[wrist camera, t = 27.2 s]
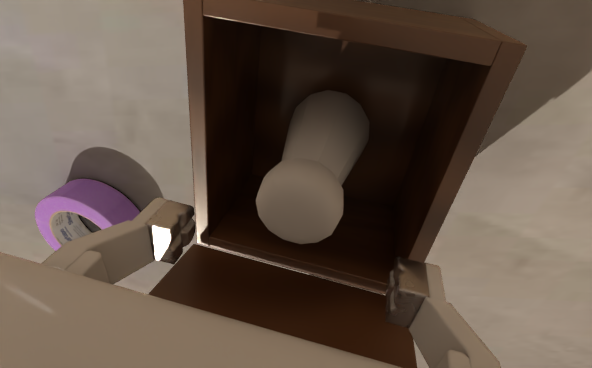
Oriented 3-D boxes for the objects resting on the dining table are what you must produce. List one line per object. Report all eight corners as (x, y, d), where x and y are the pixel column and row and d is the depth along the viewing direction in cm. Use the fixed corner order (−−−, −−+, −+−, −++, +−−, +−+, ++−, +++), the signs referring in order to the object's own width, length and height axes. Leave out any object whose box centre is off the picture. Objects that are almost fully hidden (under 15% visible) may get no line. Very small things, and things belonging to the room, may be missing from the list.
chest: (254, -16, 23) (181, -12, 15) (474, 19, 22) (528, 45, 13) (245, 175, 32) (196, 243, 24) (401, 212, 30) (406, 300, 22)
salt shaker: (380, 91, 24) (373, 181, 13) (361, 159, 27) (343, 276, 17) (302, 75, 25) (237, 149, 14) (292, 143, 28) (233, 246, 17)
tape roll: (149, 267, 44) (130, 290, 40) (68, 235, 44) (43, 255, 41) (150, 199, 37) (128, 220, 34) (55, 163, 37) (25, 180, 34)
